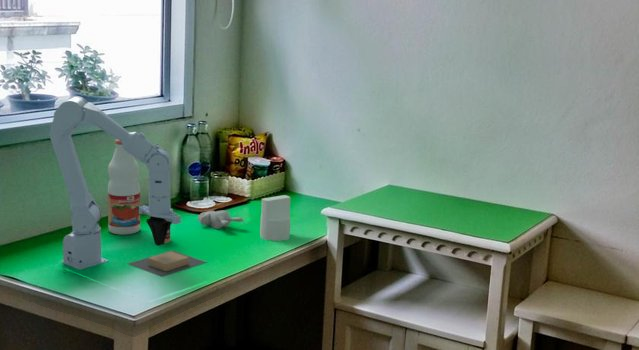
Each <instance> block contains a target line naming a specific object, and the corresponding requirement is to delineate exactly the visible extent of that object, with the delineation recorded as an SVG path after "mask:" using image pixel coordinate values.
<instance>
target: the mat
mask: <svg viewBox="0 0 639 350" xmlns="http://www.w3.org/2000/svg"><path fill="white" fill-rule="evenodd" d="M171 251H172V252H175V253H178V254H181V255H184V256H187V257H189V264H188V265H185V266H182V267H179V268H176V269H172V270H169V271H163V270H160V269H158V268H155V267H152V266H149V265H148V258H150V257H153V256H157V255H160V254H164V253H167V252H171ZM167 252H162V253H158V254H155V255H152V256H149V257H146V258H143V259H139V260H135V261H132V262H128V263H127V265H129V266H132V267H134V268H137V269H140V270H141V271H145V272H148V273H151V274H152V275H155V276H158V277H162V278H163V277H166V276H169V275H173V274H176V273H178V272H182V271H185V270H188V269H191V268H195V267H198V266H200V265H204V264H207V263H208V262H207V261H205V260H201V259H199V258H196V257H193V256H190V255H188V254H187V255H186V254H185V253H182V252H179V251H175V250H170V251H167Z"/></svg>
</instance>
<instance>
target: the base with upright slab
mask: <svg viewBox="0 0 639 350" xmlns="http://www.w3.org/2000/svg"><path fill="white" fill-rule="evenodd" d="M259 229H260V230H259V233H260V234H259V235H260V238H261V239H263V240H266V241H272V242H274V241H275V242H279V241H285V240H288V239H290V238H291V237H290V236H291V197H290V196H289V195H286V194H283V195H282V194H281V195H278V196H271V197H264V198H261V216H260V228H259Z"/></svg>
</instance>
